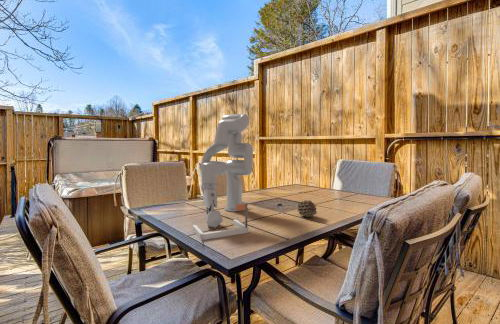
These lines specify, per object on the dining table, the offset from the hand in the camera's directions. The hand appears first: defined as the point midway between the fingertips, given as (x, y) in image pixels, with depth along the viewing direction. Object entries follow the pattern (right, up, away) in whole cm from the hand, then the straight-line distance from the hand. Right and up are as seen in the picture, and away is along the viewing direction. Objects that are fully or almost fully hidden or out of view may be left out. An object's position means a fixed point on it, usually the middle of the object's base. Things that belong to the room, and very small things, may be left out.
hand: (210, 219), depth 149 cm
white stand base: (+7, -3, -14) cm, 15 cm away
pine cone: (+52, 0, +14) cm, 54 cm away
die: (+3, -2, -6) cm, 7 cm away
